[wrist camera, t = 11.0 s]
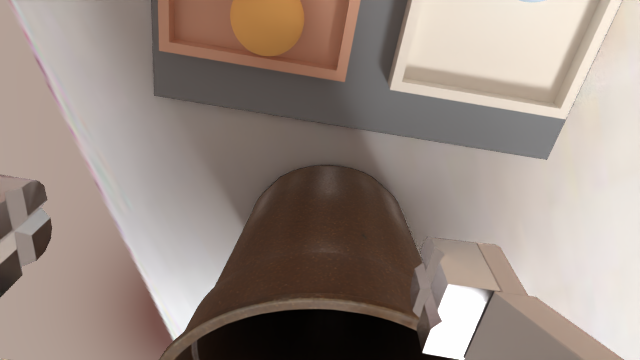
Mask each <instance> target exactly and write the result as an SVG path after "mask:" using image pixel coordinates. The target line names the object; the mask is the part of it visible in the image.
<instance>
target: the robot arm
mask: <svg viewBox="0 0 640 360" xmlns="http://www.w3.org/2000/svg"><path fill="white" fill-rule="evenodd" d="M46 201H47V196H46V192H45V187H44V185H43V184H41V183H40V182H39V181H37V180H31V179H25V178H19V177H12V176H6V175H0V297H1V296H2V295H3V294H4V293H5V292H6V291H7V290H8V289H9V288H10V287H11V286H12V285H13V284H14V283H15V282H16V281H17V280H18V279H19V278H20V277H21V276H22V266H25V265H27V264H29V263H32V262H34V261H37V259H38V258H39V257H40V256H41V255H42V254H43V253H44V252H45V250H46V248H47V246H48V244H49V241H50V239H51V231H52V226H51V219H50V217H49V216H48V215H47V213H46V212H45V211H44V210H43V209H42V208H41V207H42V206H43V205H44V203H45V202H46ZM420 253H421V256H422V260H423V263H422V264H420V265H419V266H418V267H416V268H415V271H414V274H413V278H412V282H411V291H410V297H411V305H412V310H413V312H414V313H415V314H416V315H417V316H418V317H419V321H418V324H417V327H416V328H417V333H418V337H419V341H420V346H421V350H422V353H425V354H431V355H438V356H444V357H450V358H457V359H463V360H624V359H622V358H621V357H619V356H618V355H617V354H615V353H614V352H612V351H611V350H610V349H608V348H607V347H605V346H604V345H603V344H601V343H600V342H598V341H597V340H596V339H594V338H593V337H591V336H590V335H589V334H587V333H586V332H584V331H583V330H582V329H580V328H579V327H577V326H576V325H575V324H573V323H572V322H570V321H569V320H568V319H566V318H565V317H563V316H562V315H561V314H559V313H558V312H556V311H555V310H553V309H552V308H551V307H549V306H548V305H546V304H545V303H544V302H542V301H541V300H539V299H538V298H537V297H533V296H528V294H527V293H526V291H525V289H524V287H523V286H522V284H521V282H520V281H519V279H518V277H517V275H516V274H515V272H514V270H513V269H512V267H511V265H510V263H509V262H508V260H507V258H506V257H505V255H504V253H503V251H502V250H501V248H500V247H499V246H497V245H495V244H486V243H477V242H466V241H457V240H449V239H441V238H432V237H427V238H426V240H425V241H424V243H423V246H422V249H421V252H420ZM0 360H9V359H0Z"/></svg>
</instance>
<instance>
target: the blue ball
mask: <svg viewBox="0 0 640 360" xmlns="http://www.w3.org/2000/svg"><path fill="white" fill-rule="evenodd" d="M519 1H523V2H530V3H532V2H541V1H545V0H519Z"/></svg>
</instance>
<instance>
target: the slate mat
mask: <svg viewBox="0 0 640 360" xmlns="http://www.w3.org/2000/svg"><path fill="white" fill-rule="evenodd" d="M407 1H408V0H361V1H360V6H359V11H358V16H357V22H356V27H355V32H354V37H353V42H352V47H351V53H350V58H349V63H348V68H347V73H346V78H345V82H341V81H335V80H329V79H323V78H317V77H311V76H306V75H300V74H294V73H288V72H282V71H276V70H270V69H264V68H258V67H252V66H246V65H240V64H234V63H229V62H223V61H217V60H211V59H205V58H199V57H193V56H187V55H181V54H175V53H169V52H163V51H159V27H158V0H151V8H152V40H153V73H154V96H160V97H166V98H172V99H179V100H185V101H191V102H197V103H203V104H209V105H215V106H221V107H227V108H234V109H240V110H246V111H252V112H258V113H264V114H270V115H276V116H283V117H289V118H295V119H301V120H307V121H313V122H319V123H325V124H332V125H338V126H344V127H350V128H356V129H362V130H368V131H374V132H380V133H387V134H393V135H399V136H405V137H411V138H417V139H423V140H429V141H436V142H442V143H448V144H454V145H460V146H466V147H472V148H478V149H484V150H491V151H497V152H503V153H509V154H515V155H521V156H527V157H533V158H540V159H546V160H547V159H548V156H549V154H550V152H551V150H552V148H553V146H554V144H555V142H556V140H557V137H558V135H559V133H560V131H561V129H562V127H563V125H564V123H565V121H566V119H567V118H566V119H560V118H554V117H548V116H542V115H536V114H531V113H525V112H519V111H513V110H507V109H501V108H495V107H489V106H483V105H477V104H471V103H465V102H460V101H454V100H448V99H442V98H436V97H430V96H424V95H418V94H412V93H406V92H400V91H394V90H390V89H389V86H388V79H389V75H390V71H391V67H392V62H393V58H394V54H395V50H396V46H397V42H398V38H399V34H400V30H401V26H402V22H403V17H404V13H405V9H406V5H407ZM622 1H623V0H622ZM621 3H622V2H621ZM620 5H621V4H620ZM619 7H620V6H619ZM618 9H619V8H618ZM617 11H618V10H617ZM616 13H617V12H616ZM615 15H616V14H615ZM614 17H615V16H614ZM613 20H614V18H613ZM612 22H613V21H612ZM611 24H612V23H611ZM610 26H611V25H610ZM609 28H610V27H609ZM608 30H609V29H608ZM607 32H608V31H607ZM606 34H607V33H606ZM605 36H606V35H605ZM604 38H605V37H604ZM603 41H604V40H603ZM602 43H603V42H602ZM601 45H602V44H601ZM600 47H601V46H600ZM599 49H600V48H599ZM598 51H599V50H598ZM597 53H598V52H597ZM596 55H597V54H596ZM595 57H596V56H595ZM594 60H595V59H594ZM593 62H594V61H593ZM592 64H593V63H592ZM591 66H592V65H591ZM590 68H591V67H590ZM589 70H590V69H589ZM588 72H589V71H588ZM587 74H588V73H587ZM586 76H587V75H586ZM584 81H585V80H584ZM583 83H584V82H583ZM582 85H583V84H582ZM581 87H582V86H581ZM580 89H581V88H580ZM579 91H580V90H579ZM578 93H579V92H578ZM577 95H578V94H577ZM576 97H577V96H576ZM575 100H576V99H575ZM574 102H575V101H574ZM573 104H574V103H573ZM572 106H573V105H572ZM571 108H572V107H571ZM570 110H571V109H570ZM569 112H570V111H569ZM568 114H569V113H568ZM567 116H568V115H567Z"/></svg>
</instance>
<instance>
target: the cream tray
mask: <svg viewBox="0 0 640 360" xmlns="http://www.w3.org/2000/svg"><path fill="white" fill-rule="evenodd" d="M621 2H622V0H545V1H541V2H532V3H530V2H523V1H519V0H408V1H407V5H406V9H405V13H404V17H403V22H402V26H401V30H400V34H399V38H398V42H397V46H396V50H395V54H394V58H393V62H392V67H391V71H390V75H389V79H388V86H389V89H390V90H394V91H400V92H406V93H412V94H418V95H424V96H430V97H436V98H442V99H448V100H454V101H460V102H465V103H471V104H477V105H483V106H489V107H495V108H501V109H507V110H513V111H519V112H525V113H531V114H536V115H542V116H548V117H554V118H560V119H566V118H567V115H568V113H569V111H570V109H571V107H572V105H573V103H574V101H575V99H576V96H577V94H578V92H579V90H580V88H581V86H582V84H583V82H584V80H585V78H586V75H587V73H588V71H589V69H590V67H591V65H592V63H593V61H594V59H595V56H596V54H597V52H598V50H599V48H600V46H601V44H602V42H603V40H604V37H605V35H606V33H607V31H608V29H609V27H610V25H611V23H612V21H613V18H614V16H615V14H616V12H617V10H618V8H619V6H620V4H621Z"/></svg>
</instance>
